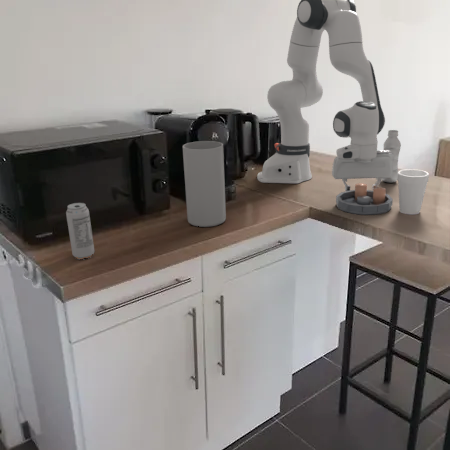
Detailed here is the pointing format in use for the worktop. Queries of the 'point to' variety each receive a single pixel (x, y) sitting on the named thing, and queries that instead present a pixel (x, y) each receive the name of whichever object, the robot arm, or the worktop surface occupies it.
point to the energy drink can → (80, 230)
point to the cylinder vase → (204, 183)
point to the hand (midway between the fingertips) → (361, 190)
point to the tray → (362, 209)
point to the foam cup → (411, 190)
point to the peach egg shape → (379, 195)
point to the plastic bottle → (394, 147)
